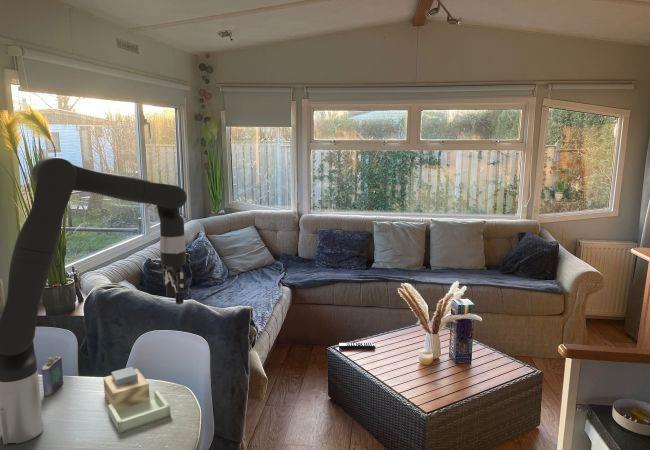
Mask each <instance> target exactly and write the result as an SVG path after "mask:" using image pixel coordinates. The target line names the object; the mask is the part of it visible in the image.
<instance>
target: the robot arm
mask: <svg viewBox="0 0 650 450" xmlns="http://www.w3.org/2000/svg"><path fill="white" fill-rule="evenodd" d="M32 168H33V169H32V176H33V177H32V179H33V180H34V182H35V183H36V184H35V191H34V196H33V201H32V205H31V208H30V211H29V213H28V215H27V218H26V219H25V221H24V223H23V225H22V227H21V228H20V231H19V233H18V235H17V238H16V241H15V243H14V247H13V251H12V254H11V259H10V264H9V271H8V280H7V281H8V283H7V293H6V294H7V295H6V300H5V305H4V308H3V310H2V314H0V429H1V434H2V435H1V437H2V443H3V445H4V444H6V445H8V444H7V443H16V444H21V443H25V442H29V441H31V440H33V439H35V438H37V437H38V436H39V435H40V434H41V433H42V432H43V431H44V418H43V409H42V402H41V401H42V400H41V391H40V383H39V371H38V362H37V357H36V351H35V347H34V340H35V335H36V327H37V320H38V316H39V315H38V313H39V307H40V304H41V299H42V297H43V294H44V292H45V289H46V286H47V284H48V280H49V277H50V273H51V270H52V267H53V264H54V262H55V261H54V260H55V257H56V252H57V251H58V250H57V249H58V245H59V239H60V236H61V230H62V225H63V224H62V223H63V219H64V215H65V212H66V209H67V206H68V203H69V202H70V198H71V195H72V193H73V191H78V192H85V193H92V194H97V195H100V196H101V195H102V196H105V197H110V198H113V199H117V200H121V201H127V202H134V203H138V204H139V203H140V204H148V205H149V204H150V205H154V206H156V209H157V214H158V218H159V223H160V224H159V225H160V226H159V228H160V239H159V253H160V265H161V266H162V282H163V283H164V285H165V290H166V291H165V292H166V297H167V298H172V297H175V304H176V305H182V304H183V303H184V292H187V276H186V275H187V274H186V271H182V266H184V265H186V263H187V251H186V249H187V248H186V237H185V220H184V218H183V217H182V215H181V214H180V208H182V207H183V206H185V204H186V202H187V199H188V198H187V197H188V196H187V193H186V191H185V190H184V189H183V187H180V186H179V185H174V184H167V183H161V182H160V183H159V182H155V181H153V180H152V181H151V180H148V179H145V178H140V177H135V176H130V175H124V174H120V173H119V174H118V173H110V172H103V171H97V170H92V169H90V168H85V167H82V166H78V165H75V164H73V163H72V162H71V161H69V160H67V159H66V158H64V157H59V156H58V157H57V156H47V157H44V158H42V159H40V160H39V161H37V162H36V163H35V165H34V166H33V167H32Z"/></svg>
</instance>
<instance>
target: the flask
mask: <svg viewBox="0 0 650 450" xmlns="http://www.w3.org/2000/svg"><path fill="white" fill-rule="evenodd" d="M45 360H47V362H46V363H45V364H44V365H43V366H42V367H41V378H42V388H43V396H44V397H50V396H51V395H53V394H54V392H56V391H57V390H58V389H59V388H60V387H61V386H62V385H63V384H64V375H63V372H64V371H63V362H62V360H63V359H62V356H54V357H52V356H48V357H46V359H45Z"/></svg>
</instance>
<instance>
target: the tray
mask: <svg viewBox="0 0 650 450" xmlns="http://www.w3.org/2000/svg"><path fill="white" fill-rule="evenodd" d="M153 393H154V398H153V399H151V400H149V401H146V402H143V403H140V404H137V405H133V406H130V407H127V408H124V409H121V410H117V411H116V410H115V408H114V407H113V405H112V404H108V415H109V417H110V419H111V421H112V423H113V425H114V427H115V428H116V431H117V432H118V434H121V433H125V432H128V431H130V430H132V429H136V428H139V427H141V426H145V425H147V424H150V423H151V424H152V423H153V422H156V421H159V420H162V419H164V418H165V419H166V418H169V417H171V406H170V404H169V403H168V401H167V400H166V399H165V397H164V396H163V395H162V394H161V393H160V391H159V390H158V389H156V390H154V392H153Z"/></svg>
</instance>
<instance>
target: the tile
mask: <svg viewBox="0 0 650 450" xmlns="http://www.w3.org/2000/svg"><path fill="white" fill-rule="evenodd" d="M134 369H135V368H134V367H133V366H130V367H125V368H121V369H117V370H114V371H111V372H110V373H111V375H112V379H113V381H114V382H115V384H116V385H117V386H119V385H122V384H126V383H130V382H133V381H137V380H138V374H137V373H136V371H135V370H134Z"/></svg>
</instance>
